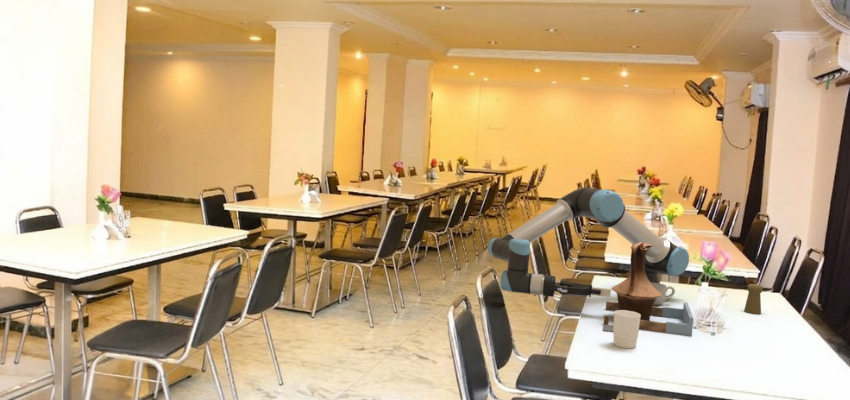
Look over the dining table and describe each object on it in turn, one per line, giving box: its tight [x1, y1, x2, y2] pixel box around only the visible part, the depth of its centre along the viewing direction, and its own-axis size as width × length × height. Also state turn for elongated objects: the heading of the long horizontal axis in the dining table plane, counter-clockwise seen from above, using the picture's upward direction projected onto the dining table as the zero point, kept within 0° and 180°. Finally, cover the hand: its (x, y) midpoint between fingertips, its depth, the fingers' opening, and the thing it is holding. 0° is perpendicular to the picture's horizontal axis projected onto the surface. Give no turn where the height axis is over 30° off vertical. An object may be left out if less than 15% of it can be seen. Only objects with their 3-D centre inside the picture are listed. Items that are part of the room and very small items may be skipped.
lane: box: [603, 300, 666, 334], centre depth 249 cm, size 20×24×3 cm
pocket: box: [661, 301, 694, 337], centre depth 246 cm, size 8×24×6 cm, turn 164°
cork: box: [743, 283, 763, 315], centre depth 274 cm, size 6×6×11 cm
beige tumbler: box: [612, 310, 641, 349], centre depth 217 cm, size 8×8×10 cm
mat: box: [602, 323, 614, 333], centre depth 235 cm, size 10×8×1 cm
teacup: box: [650, 282, 676, 306], centre depth 278 cm, size 14×11×8 cm
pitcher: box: [610, 242, 662, 321], centre depth 248 cm, size 18×17×28 cm
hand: (610, 292), depth 251 cm, fingers closed
